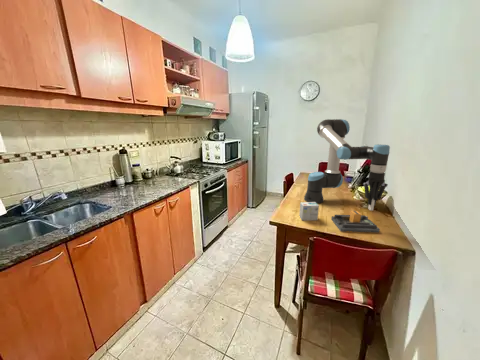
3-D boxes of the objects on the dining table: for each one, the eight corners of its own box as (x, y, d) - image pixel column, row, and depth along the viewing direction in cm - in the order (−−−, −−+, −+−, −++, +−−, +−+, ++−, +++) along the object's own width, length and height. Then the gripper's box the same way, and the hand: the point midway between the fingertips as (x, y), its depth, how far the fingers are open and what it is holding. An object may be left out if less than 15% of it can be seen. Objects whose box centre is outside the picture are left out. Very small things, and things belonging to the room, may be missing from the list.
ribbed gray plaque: (334, 216, 133) (334, 214, 132) (366, 217, 131) (366, 215, 131) (343, 227, 119) (343, 224, 119) (379, 228, 118) (379, 226, 117)
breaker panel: (331, 219, 134) (332, 213, 133) (365, 220, 132) (366, 214, 131) (340, 231, 120) (341, 224, 118) (379, 232, 118) (380, 225, 117)
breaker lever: (349, 220, 128) (350, 210, 126) (355, 220, 127) (357, 210, 126) (352, 223, 123) (354, 213, 121) (359, 223, 123) (361, 214, 121)
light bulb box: (313, 216, 139) (315, 201, 136) (317, 220, 133) (319, 205, 130) (298, 216, 139) (299, 201, 136) (301, 220, 133) (303, 205, 130)
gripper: (369, 173, 113) (362, 211, 119) (393, 173, 112) (385, 212, 118) (362, 170, 120) (356, 206, 126) (385, 170, 119) (378, 207, 125)
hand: (370, 209), depth 122 cm, fingers closed
